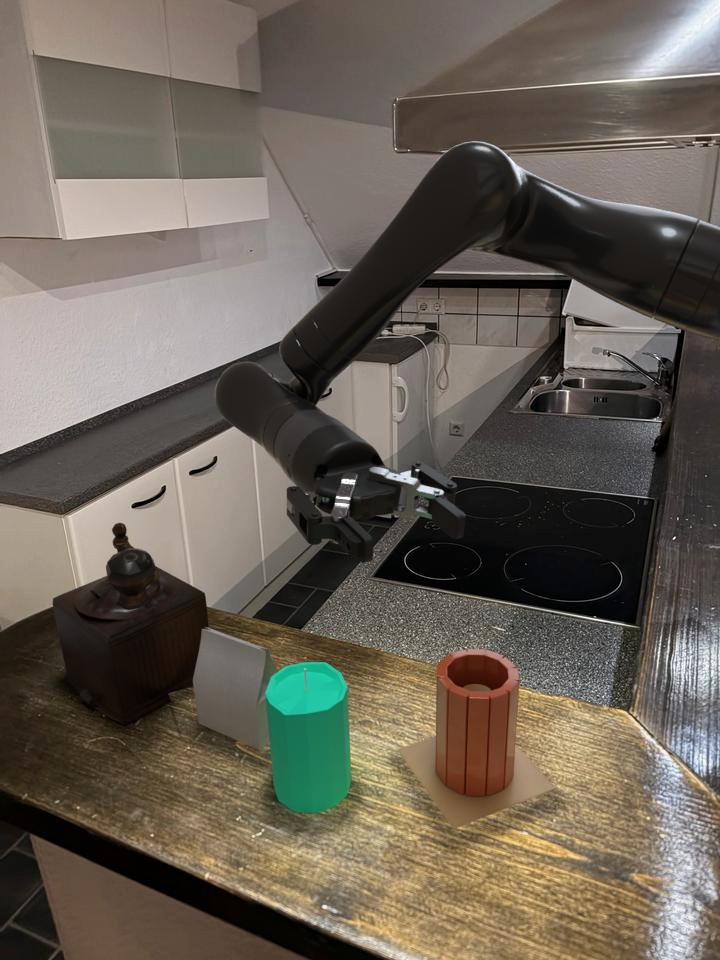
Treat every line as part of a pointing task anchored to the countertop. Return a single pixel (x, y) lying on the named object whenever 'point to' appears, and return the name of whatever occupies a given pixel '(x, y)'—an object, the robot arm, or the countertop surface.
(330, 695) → the candle
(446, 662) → the hollow cylinder
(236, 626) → the countertop surface
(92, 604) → the brown coffee grinder
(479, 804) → the ring holder
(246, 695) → the tea bag
